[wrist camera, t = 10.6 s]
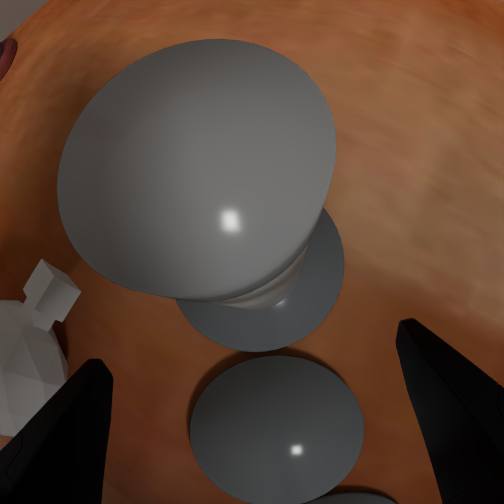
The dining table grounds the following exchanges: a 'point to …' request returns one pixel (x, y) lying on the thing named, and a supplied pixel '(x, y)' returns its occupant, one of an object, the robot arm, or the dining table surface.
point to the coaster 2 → (352, 498)
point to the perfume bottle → (32, 346)
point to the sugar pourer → (200, 174)
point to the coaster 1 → (287, 311)
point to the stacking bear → (6, 55)
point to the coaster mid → (277, 430)
